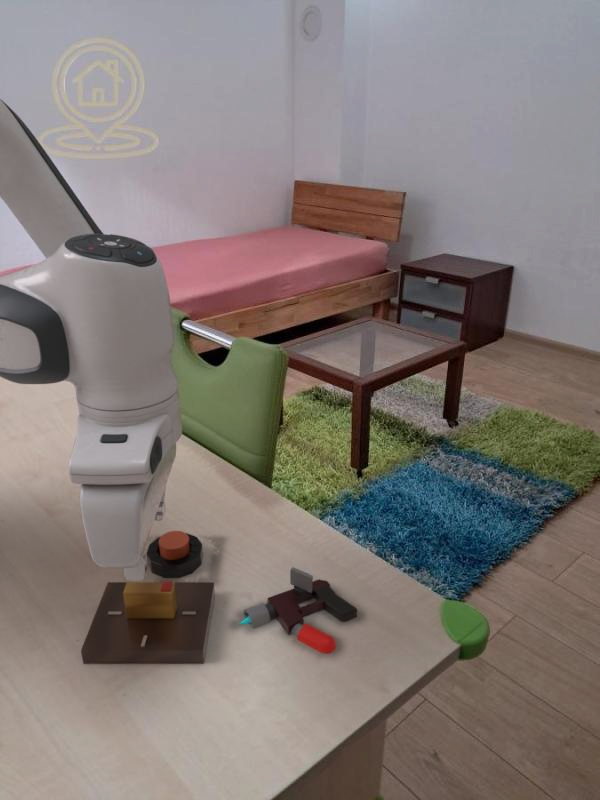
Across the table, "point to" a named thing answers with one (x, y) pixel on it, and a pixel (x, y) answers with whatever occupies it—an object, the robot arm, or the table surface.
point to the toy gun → (302, 610)
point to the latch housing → (175, 566)
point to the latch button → (174, 545)
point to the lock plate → (151, 629)
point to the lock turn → (150, 600)
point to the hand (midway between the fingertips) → (147, 544)
